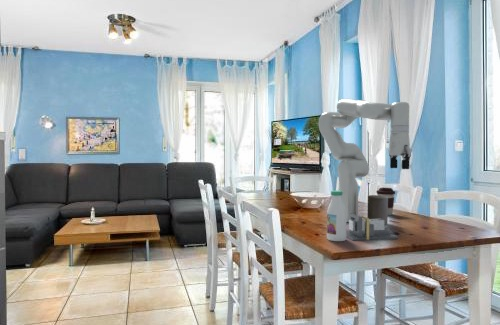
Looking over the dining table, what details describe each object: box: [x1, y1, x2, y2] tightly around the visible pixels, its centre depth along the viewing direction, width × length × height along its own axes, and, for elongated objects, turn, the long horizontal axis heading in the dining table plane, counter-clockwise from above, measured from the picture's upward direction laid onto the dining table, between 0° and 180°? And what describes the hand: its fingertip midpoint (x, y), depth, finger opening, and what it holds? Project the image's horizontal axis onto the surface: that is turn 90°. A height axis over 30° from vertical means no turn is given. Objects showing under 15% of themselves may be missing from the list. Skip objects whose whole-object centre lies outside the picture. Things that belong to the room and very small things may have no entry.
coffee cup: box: [376, 187, 396, 216], centre depth 209 cm, size 10×10×15 cm
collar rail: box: [346, 213, 399, 241], centre depth 156 cm, size 12×20×9 cm, turn 98°
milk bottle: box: [326, 190, 347, 242], centre depth 151 cm, size 8×8×20 cm
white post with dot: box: [348, 218, 385, 231], centre depth 156 cm, size 4×14×4 cm, turn 98°
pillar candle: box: [366, 193, 389, 226], centre depth 183 cm, size 10×10×15 cm
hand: (399, 168), depth 165 cm, fingers open, 9 cm apart
